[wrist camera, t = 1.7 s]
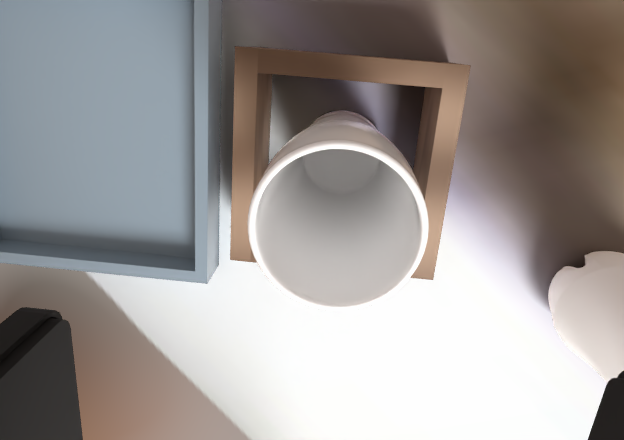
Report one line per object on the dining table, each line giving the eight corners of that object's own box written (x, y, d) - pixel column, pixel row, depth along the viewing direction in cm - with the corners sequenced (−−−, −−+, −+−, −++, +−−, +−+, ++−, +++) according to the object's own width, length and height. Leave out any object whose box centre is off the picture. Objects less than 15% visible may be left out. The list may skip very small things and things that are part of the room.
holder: (419, 244, 34) (433, 280, 28) (248, 227, 34) (230, 259, 29) (449, 62, 30) (470, 65, 24) (254, 46, 30) (234, 46, 25)
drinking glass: (409, 176, 32) (458, 276, 18) (316, 215, 33) (293, 337, 19) (369, 79, 30) (388, 105, 16) (272, 124, 32) (211, 186, 17)
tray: (218, 264, 35) (207, 283, 32) (2, 243, 36) (-28, 260, 33) (222, -10, 29) (208, -17, 26) (-38, -30, 30) (-78, -39, 27)
